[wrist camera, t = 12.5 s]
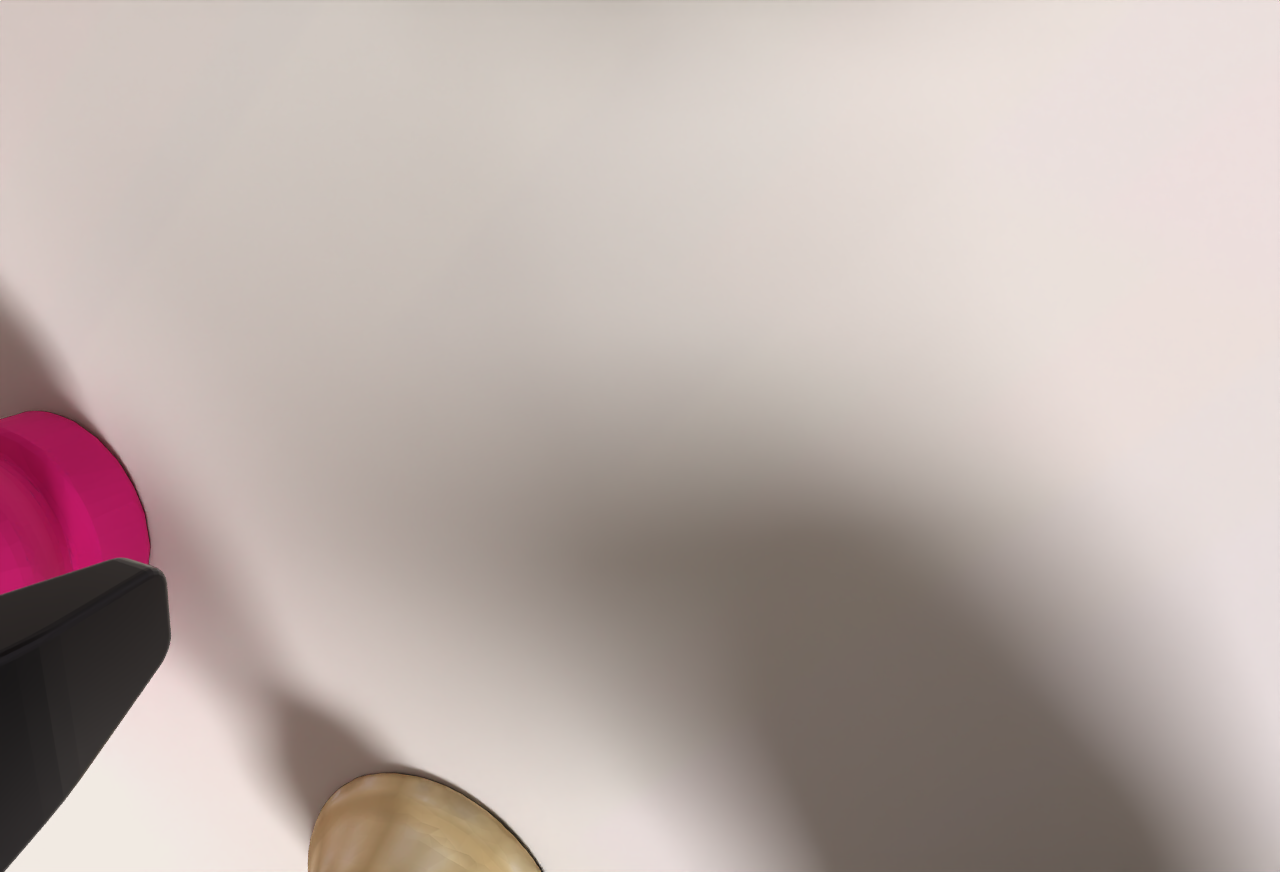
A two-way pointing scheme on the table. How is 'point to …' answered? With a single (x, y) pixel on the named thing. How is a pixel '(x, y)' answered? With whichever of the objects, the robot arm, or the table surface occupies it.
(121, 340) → the table surface
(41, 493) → the pepper mill
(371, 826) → the hand bell
